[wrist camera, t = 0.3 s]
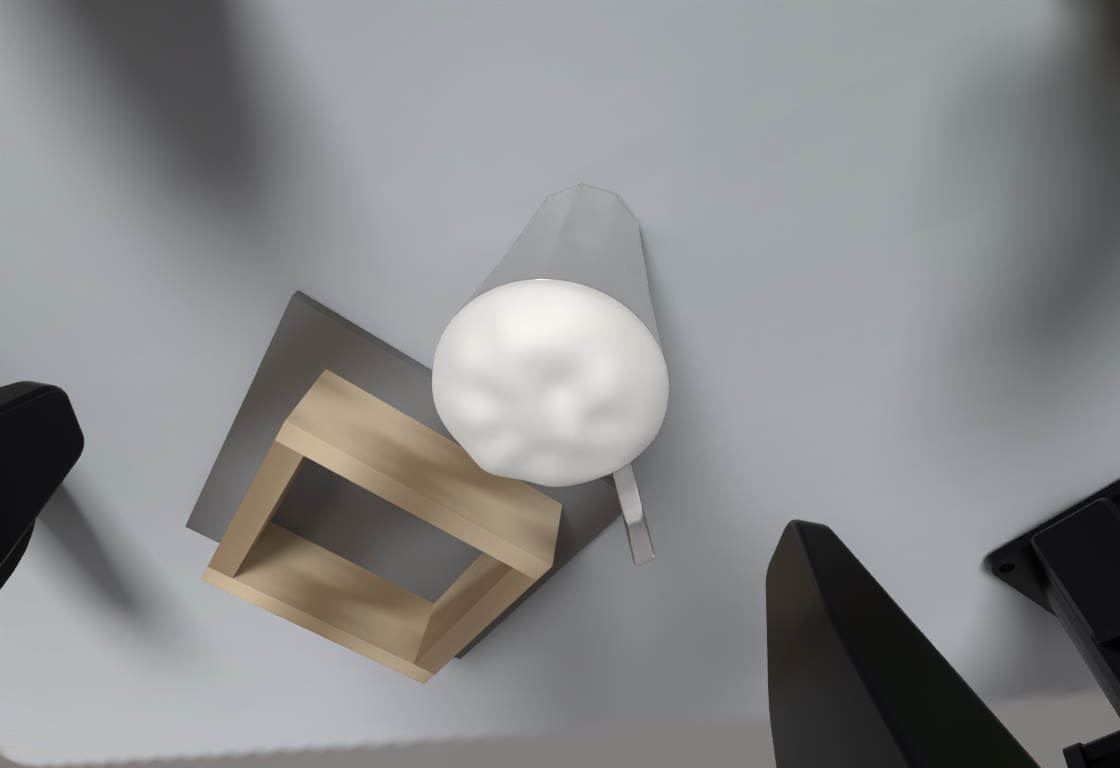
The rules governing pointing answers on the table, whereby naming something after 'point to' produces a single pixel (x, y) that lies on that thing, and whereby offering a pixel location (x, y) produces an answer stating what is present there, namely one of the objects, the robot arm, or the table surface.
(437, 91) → the table surface
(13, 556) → the controller
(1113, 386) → the table surface
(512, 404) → the milkshake
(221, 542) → the wooden frame tray
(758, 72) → the table surface
